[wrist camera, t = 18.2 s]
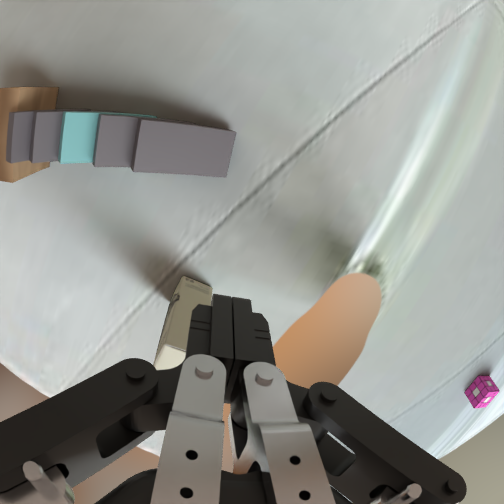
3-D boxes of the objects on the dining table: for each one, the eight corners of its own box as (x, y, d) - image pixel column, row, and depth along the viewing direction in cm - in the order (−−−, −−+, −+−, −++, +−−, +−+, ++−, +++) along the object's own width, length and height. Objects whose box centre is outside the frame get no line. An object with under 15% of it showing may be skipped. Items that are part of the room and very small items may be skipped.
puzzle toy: (478, 375, 55) (488, 391, 50) (489, 375, 56) (499, 390, 51) (464, 392, 57) (473, 408, 52) (475, 391, 58) (485, 407, 53)
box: (182, 273, 40) (164, 341, 28) (214, 287, 41) (207, 357, 29) (168, 304, 42) (149, 373, 30) (198, 316, 43) (188, 387, 31)
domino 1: (78, 150, 32) (5, 160, 23) (83, 108, 30) (9, 112, 21) (85, 152, 31) (10, 163, 23) (91, 109, 29) (14, 112, 21)
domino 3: (143, 158, 33) (58, 160, 26) (150, 115, 31) (63, 111, 24) (149, 161, 32) (60, 163, 25) (157, 116, 30) (65, 112, 23)
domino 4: (180, 165, 34) (92, 163, 28) (189, 122, 32) (99, 113, 26) (186, 169, 33) (94, 166, 27) (195, 123, 31) (101, 115, 25)
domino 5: (219, 173, 34) (130, 167, 29) (229, 129, 32) (138, 118, 27) (225, 177, 33) (133, 171, 28) (236, 132, 31) (141, 119, 26)
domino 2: (109, 154, 33) (29, 160, 25) (116, 111, 30) (33, 111, 23) (115, 156, 32) (32, 163, 24) (122, 113, 30) (36, 112, 22)
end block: (15, 162, 32) (-22, 177, 24) (23, 87, 27) (-16, 89, 20) (49, 166, 32) (12, 182, 25) (58, 87, 28) (20, 87, 21)
